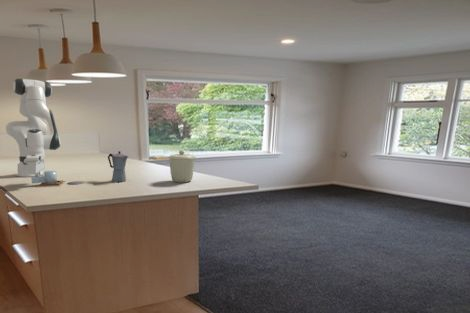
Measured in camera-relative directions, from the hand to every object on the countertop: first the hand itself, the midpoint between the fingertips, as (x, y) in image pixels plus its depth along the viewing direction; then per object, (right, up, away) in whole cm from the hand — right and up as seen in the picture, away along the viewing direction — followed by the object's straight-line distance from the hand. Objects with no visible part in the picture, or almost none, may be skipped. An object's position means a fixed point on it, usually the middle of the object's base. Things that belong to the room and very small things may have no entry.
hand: (37, 178), depth 199 cm
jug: (+4, -4, +1) cm, 5 cm away
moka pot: (+42, -3, +20) cm, 47 cm away
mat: (+20, -4, +7) cm, 21 cm away
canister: (+85, -3, +20) cm, 87 cm away
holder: (+6, -4, +4) cm, 8 cm away
